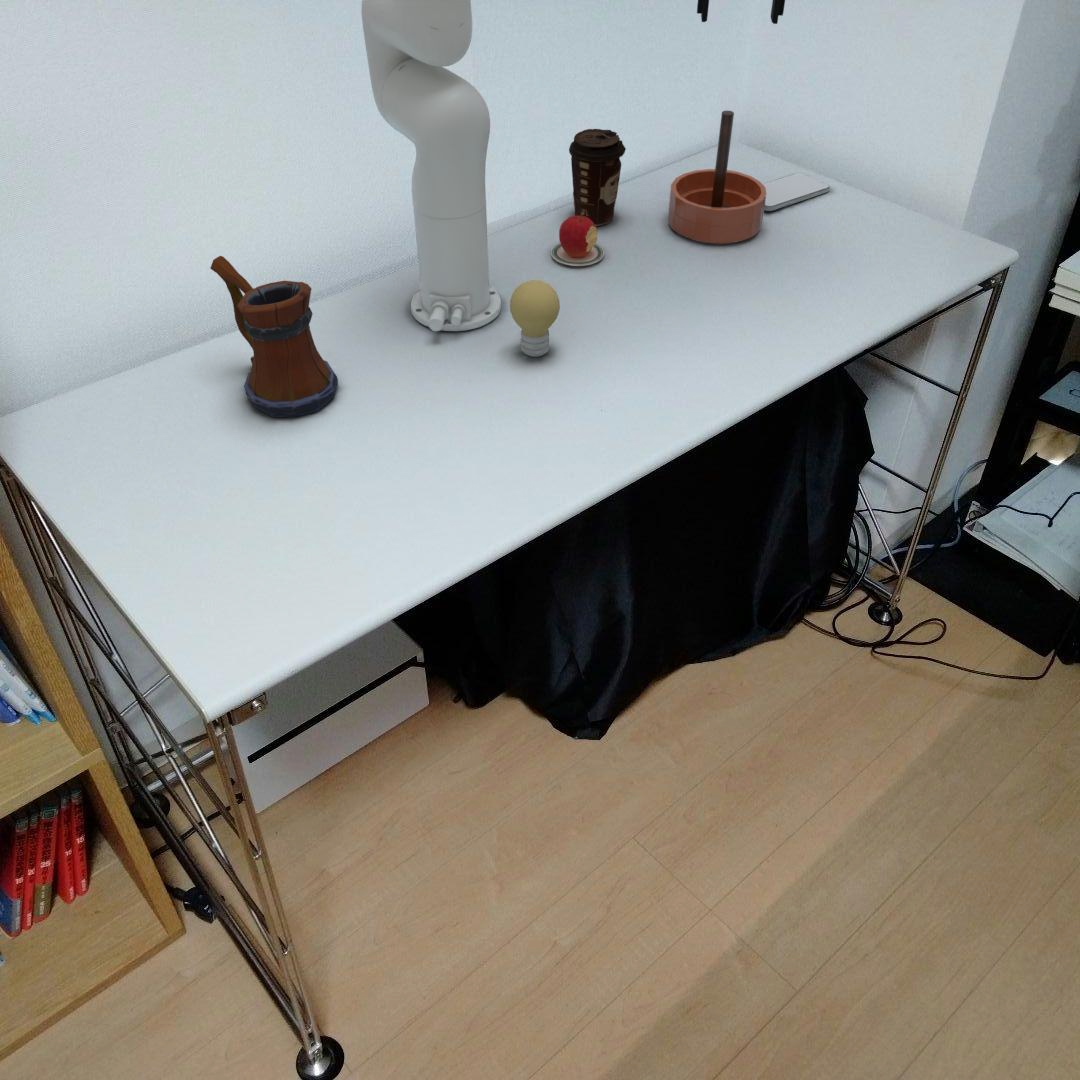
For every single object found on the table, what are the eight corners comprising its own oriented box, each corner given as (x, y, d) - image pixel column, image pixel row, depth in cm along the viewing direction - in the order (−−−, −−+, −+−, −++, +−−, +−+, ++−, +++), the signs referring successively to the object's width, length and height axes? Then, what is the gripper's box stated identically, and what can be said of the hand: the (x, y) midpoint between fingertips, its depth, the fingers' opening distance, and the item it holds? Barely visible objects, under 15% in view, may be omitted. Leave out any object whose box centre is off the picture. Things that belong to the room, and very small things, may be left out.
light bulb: (517, 368, 134) (516, 299, 128) (505, 342, 139) (504, 275, 132) (565, 361, 136) (566, 292, 129) (551, 335, 140) (552, 268, 133)
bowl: (763, 248, 158) (769, 211, 154) (668, 244, 159) (671, 207, 155) (757, 206, 169) (762, 170, 165) (667, 203, 170) (670, 167, 166)
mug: (201, 372, 134) (172, 267, 124) (276, 338, 140) (255, 235, 130) (281, 432, 124) (257, 323, 114) (357, 393, 130) (341, 286, 120)
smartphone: (832, 186, 173) (769, 207, 166) (831, 193, 173) (767, 214, 167) (800, 171, 177) (736, 191, 170) (798, 178, 178) (735, 198, 171)
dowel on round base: (733, 230, 162) (748, 120, 150) (697, 229, 162) (709, 119, 150) (731, 214, 166) (745, 106, 154) (696, 212, 166) (708, 105, 154)
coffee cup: (622, 207, 169) (627, 127, 160) (620, 230, 163) (625, 149, 154) (569, 205, 170) (571, 125, 161) (565, 228, 163) (567, 146, 155)
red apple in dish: (602, 243, 160) (603, 202, 155) (605, 268, 154) (607, 227, 149) (550, 243, 160) (550, 203, 155) (551, 268, 154) (552, 227, 149)
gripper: (688, -119, 130) (676, 27, 141) (828, -117, 129) (804, 30, 140) (687, -132, 135) (675, 10, 147) (821, -130, 134) (799, 13, 146)
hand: (738, 20), depth 144 cm, fingers open, 9 cm apart
